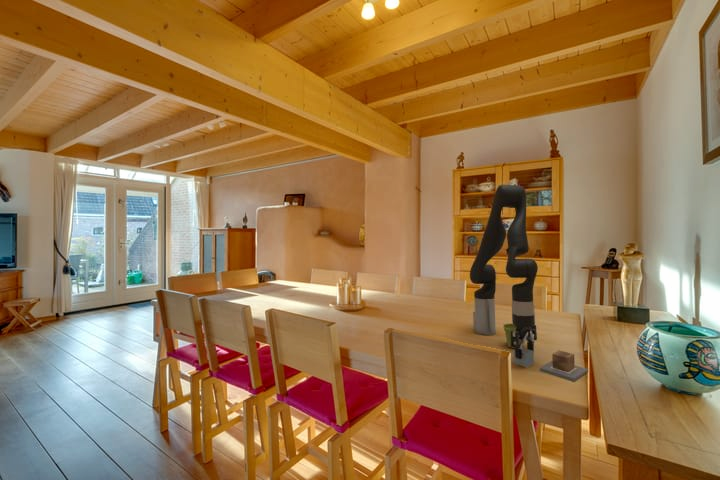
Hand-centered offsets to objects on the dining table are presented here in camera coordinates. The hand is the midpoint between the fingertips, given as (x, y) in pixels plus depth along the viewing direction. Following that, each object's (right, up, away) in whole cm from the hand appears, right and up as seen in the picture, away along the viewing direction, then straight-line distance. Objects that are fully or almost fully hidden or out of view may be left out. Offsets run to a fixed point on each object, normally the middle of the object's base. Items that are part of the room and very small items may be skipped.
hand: (524, 355), depth 119 cm
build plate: (+10, -3, -7) cm, 13 cm away
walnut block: (+10, -2, -7) cm, 12 cm away
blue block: (0, -3, 0) cm, 3 cm away
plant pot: (+5, -3, +17) cm, 18 cm away
